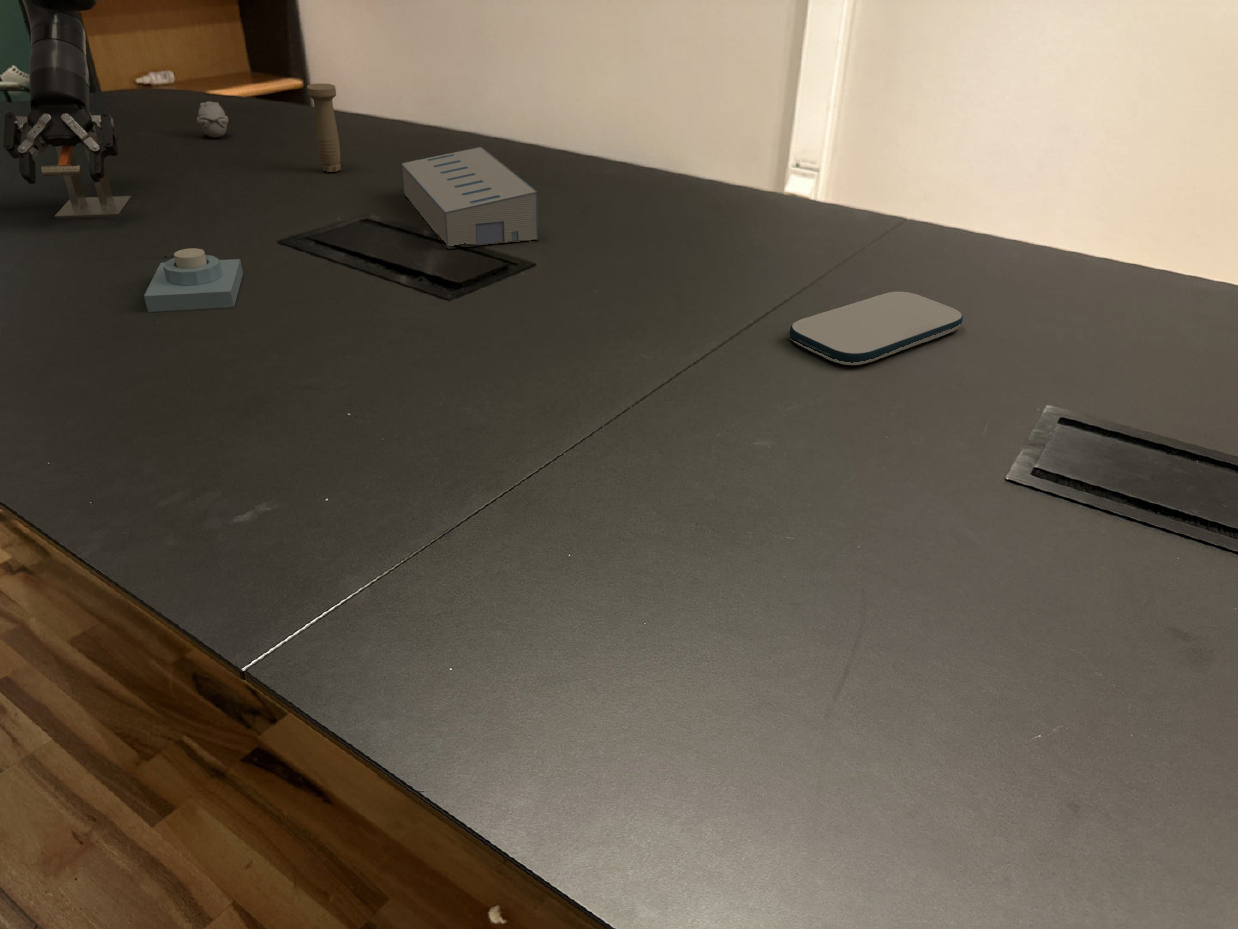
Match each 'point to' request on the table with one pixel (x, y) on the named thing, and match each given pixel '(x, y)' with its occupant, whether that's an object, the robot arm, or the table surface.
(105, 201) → the bracket
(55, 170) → the lever
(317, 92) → the handle
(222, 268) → the button box
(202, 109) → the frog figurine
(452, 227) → the warehouse
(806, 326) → the external hard drive
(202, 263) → the button
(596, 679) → the table surface
